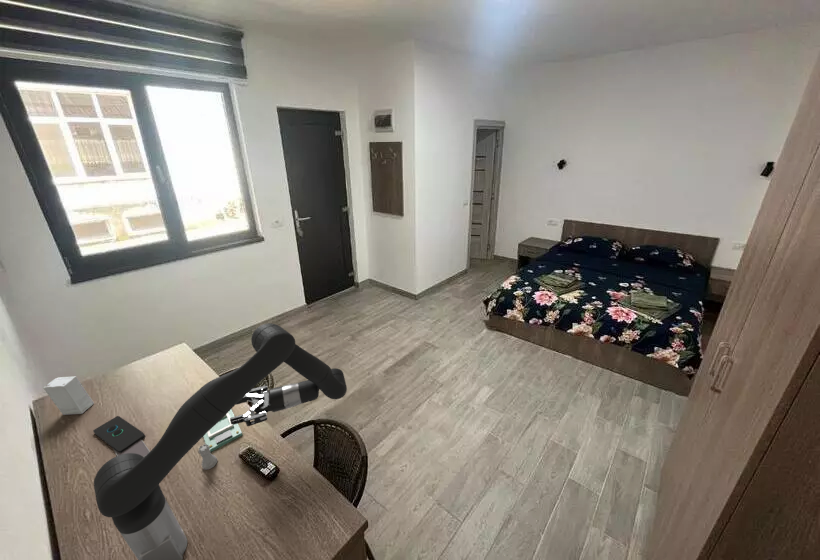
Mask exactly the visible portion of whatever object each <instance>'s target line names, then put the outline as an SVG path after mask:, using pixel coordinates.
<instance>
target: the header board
mask: <svg viewBox="0 0 820 560" xmlns="http://www.w3.org/2000/svg"><path fill="white" fill-rule="evenodd" d="M232 417H235V414H234V412H233V408H232V409H231V410H230V411H229V412H228V413H227V414H226V415H225V416H224V417H223V418H222V419H221V420H220V421H219V422H218V423H217V424H216V425H215V426H214V427H212V428H211V429H210V430H209V431H208V432H207V433H206V434H205V435H204V436H203V437H202V438H203V439H204V444H205V445H206V444H207V445H209V446H210V448H209V449H210V453H212V452H214V451H216V450H217V449H220V448H221V447H223V446H225V445H227V444H229V443H230V442H232V441H234V440H237V438H239V437H242V436H243V432H242V430H241V428H240V425H239V423H238V424H231V422H230V418H232Z"/></svg>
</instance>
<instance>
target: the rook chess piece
mask: <svg viewBox="0 0 820 560" xmlns="http://www.w3.org/2000/svg"><path fill="white" fill-rule="evenodd" d="M209 448H210V446H209V445H207V444H206V443H203V445H200V446H199V448H198V451H197V452H198V454H199V455H200V457H201V458H202V460H201V468H202V470H211V469H212V468H214V467H215V466H216V465H217V463H218V458H217V456H216V455H215V454H212V452H210V449H209Z"/></svg>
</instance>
